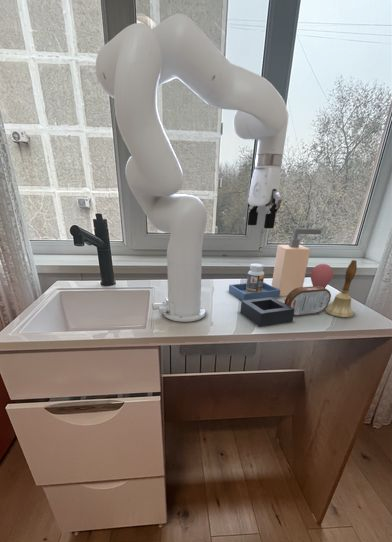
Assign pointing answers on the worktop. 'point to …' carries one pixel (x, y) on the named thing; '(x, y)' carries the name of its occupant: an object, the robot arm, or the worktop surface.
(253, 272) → the pill bottle
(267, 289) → the tray
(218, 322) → the worktop surface
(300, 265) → the soap dispenser
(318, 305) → the tin
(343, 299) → the hand bell
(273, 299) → the socket base
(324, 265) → the light bulb
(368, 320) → the worktop surface
